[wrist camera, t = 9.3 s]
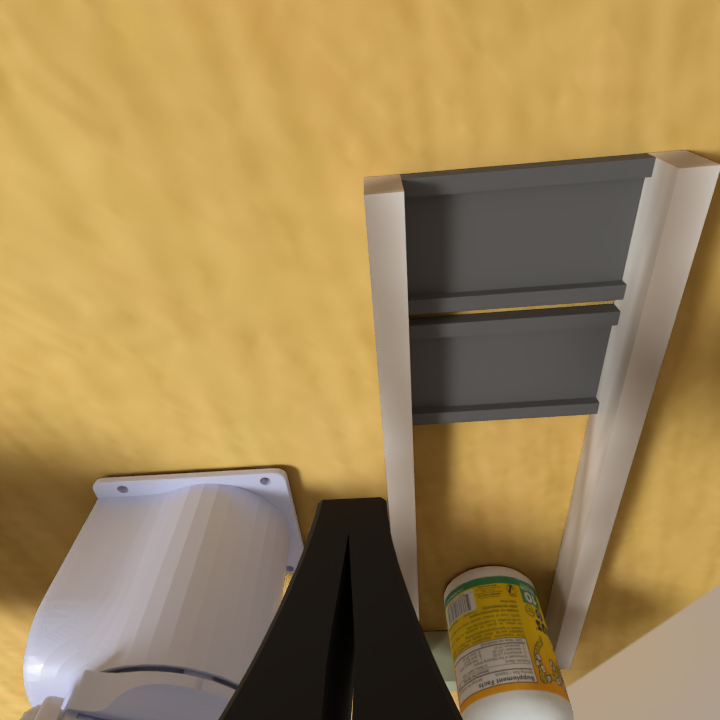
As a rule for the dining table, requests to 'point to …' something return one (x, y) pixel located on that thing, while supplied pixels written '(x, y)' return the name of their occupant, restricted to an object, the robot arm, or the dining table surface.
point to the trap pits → (516, 284)
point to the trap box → (615, 391)
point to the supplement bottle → (502, 648)
